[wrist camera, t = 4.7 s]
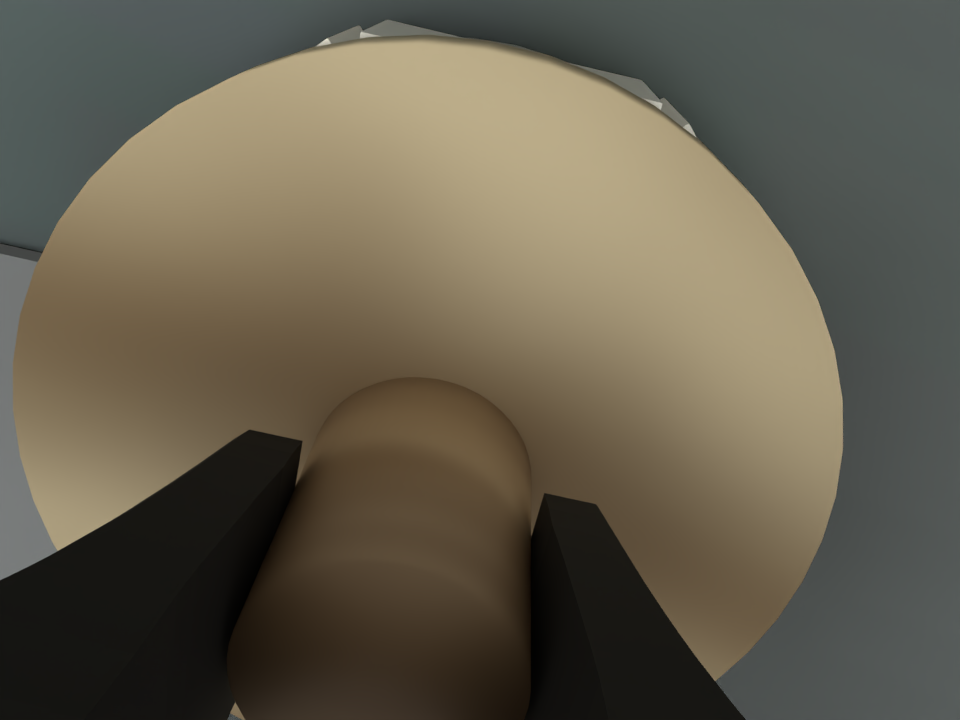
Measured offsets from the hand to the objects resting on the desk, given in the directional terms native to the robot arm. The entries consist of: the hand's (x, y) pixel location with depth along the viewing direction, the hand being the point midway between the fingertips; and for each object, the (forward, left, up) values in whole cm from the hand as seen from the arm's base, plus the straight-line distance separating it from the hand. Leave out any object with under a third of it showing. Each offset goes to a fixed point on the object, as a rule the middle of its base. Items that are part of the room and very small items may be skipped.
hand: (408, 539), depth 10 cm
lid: (0, 0, -2) cm, 2 cm away
